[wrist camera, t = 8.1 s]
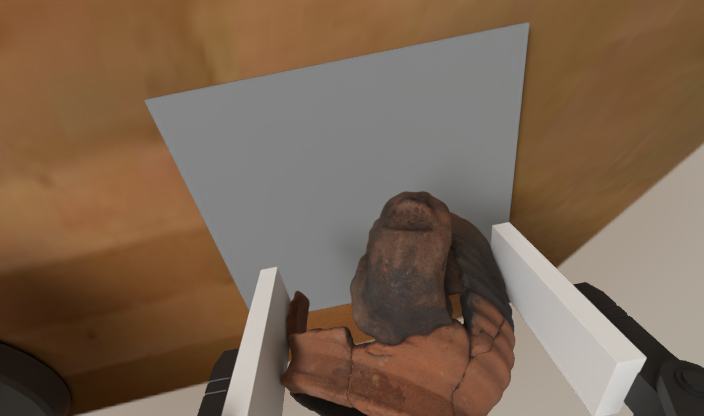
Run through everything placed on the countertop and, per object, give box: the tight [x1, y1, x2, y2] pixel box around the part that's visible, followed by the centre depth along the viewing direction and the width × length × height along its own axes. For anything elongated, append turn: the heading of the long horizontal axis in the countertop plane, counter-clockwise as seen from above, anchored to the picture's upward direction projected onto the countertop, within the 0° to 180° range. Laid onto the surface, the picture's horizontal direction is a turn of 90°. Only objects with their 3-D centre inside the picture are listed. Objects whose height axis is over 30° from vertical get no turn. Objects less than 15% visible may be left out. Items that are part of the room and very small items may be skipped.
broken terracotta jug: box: [281, 191, 515, 416], centre depth 12 cm, size 12×10×8 cm
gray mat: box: [144, 23, 529, 312], centre depth 20 cm, size 20×17×1 cm
